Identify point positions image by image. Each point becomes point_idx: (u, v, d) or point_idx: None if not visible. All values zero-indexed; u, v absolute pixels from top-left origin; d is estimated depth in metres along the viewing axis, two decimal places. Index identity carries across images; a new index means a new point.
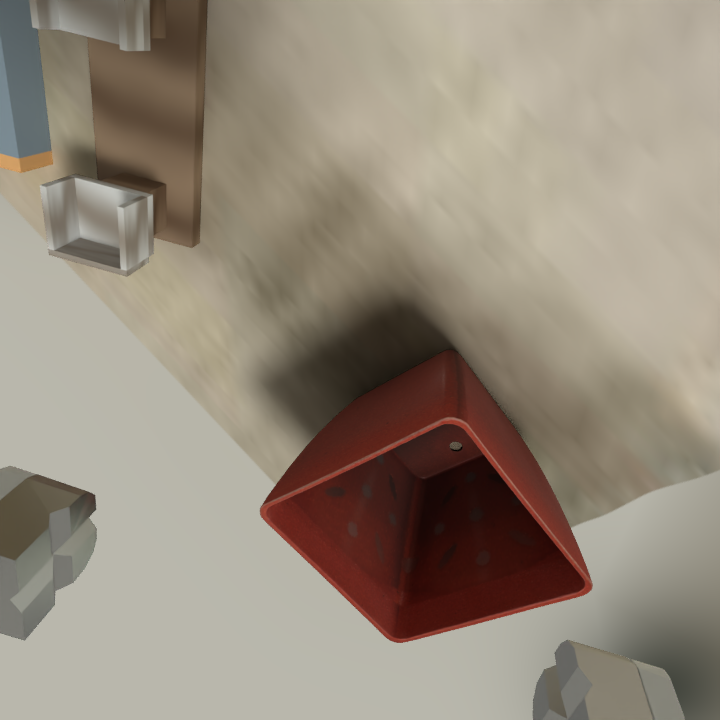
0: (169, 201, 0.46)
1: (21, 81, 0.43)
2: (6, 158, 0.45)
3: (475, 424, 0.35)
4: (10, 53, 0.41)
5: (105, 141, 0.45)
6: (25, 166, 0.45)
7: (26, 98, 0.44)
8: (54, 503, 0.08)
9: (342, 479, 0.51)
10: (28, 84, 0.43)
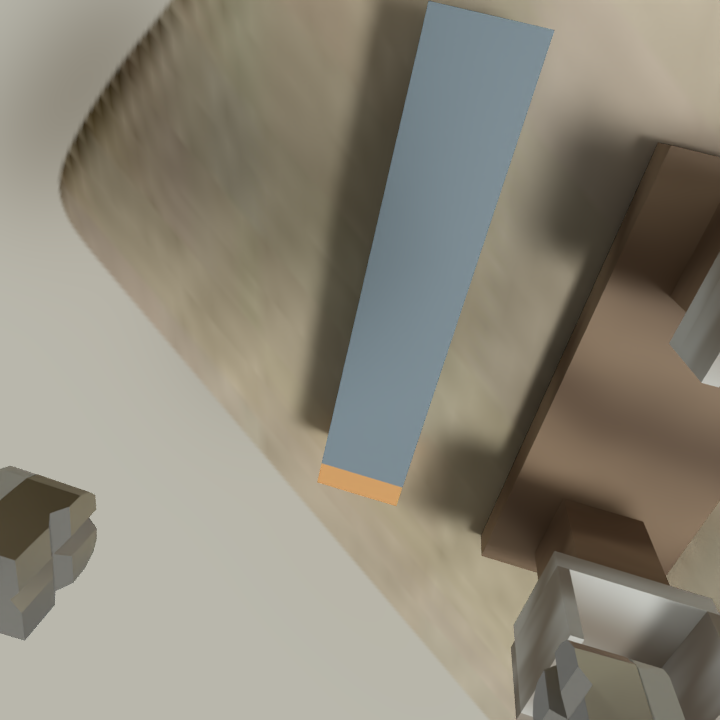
0: None
1: None
2: (377, 484, 0.25)
3: None
4: None
5: (550, 454, 0.25)
6: None
7: None
8: (54, 503, 0.08)
9: None
10: None
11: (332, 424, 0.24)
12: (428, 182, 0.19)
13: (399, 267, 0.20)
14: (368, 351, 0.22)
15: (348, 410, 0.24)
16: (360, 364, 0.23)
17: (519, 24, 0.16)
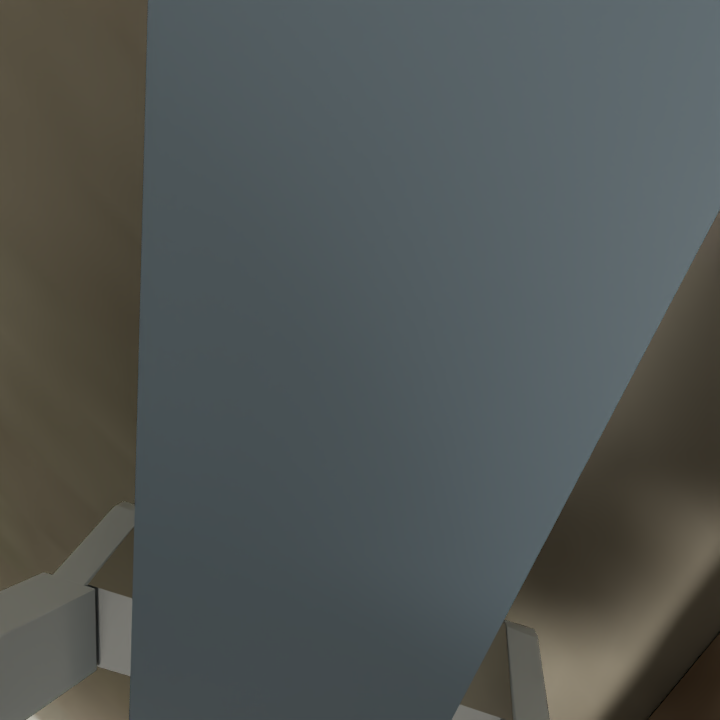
0: None
1: None
2: None
3: None
4: None
5: None
6: None
7: None
8: None
9: None
10: None
11: None
12: (290, 418, 0.05)
13: (226, 638, 0.06)
14: None
15: None
16: None
17: None
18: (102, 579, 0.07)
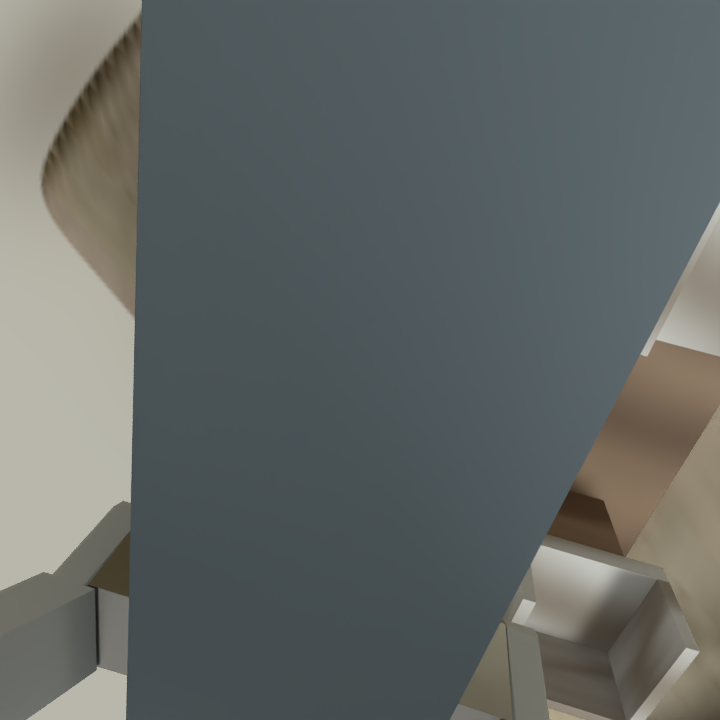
0: None
1: None
2: None
3: None
4: None
5: None
6: None
7: None
8: None
9: None
10: None
11: None
12: (284, 424, 0.05)
13: (222, 642, 0.06)
14: None
15: None
16: None
17: None
18: (102, 579, 0.07)
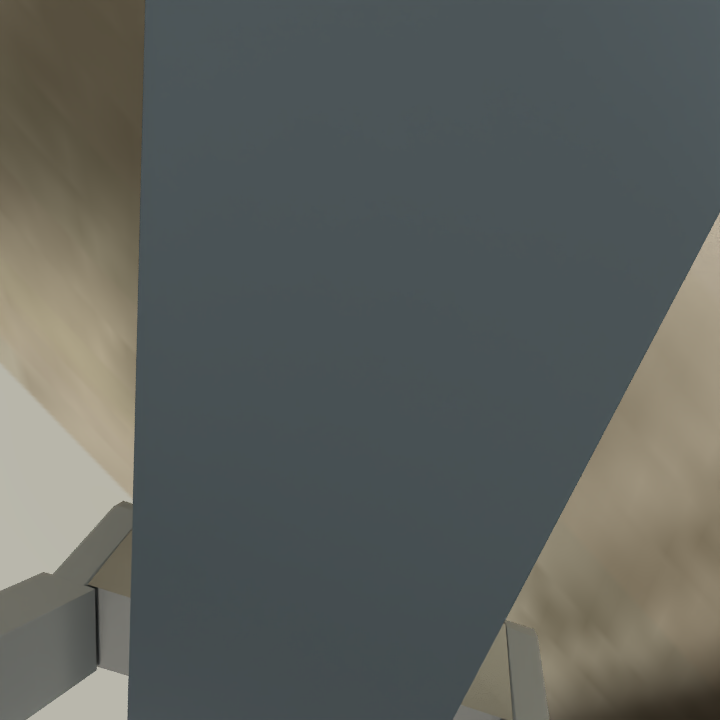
0: None
1: None
2: None
3: None
4: None
5: None
6: None
7: None
8: None
9: None
10: None
11: None
12: (287, 428, 0.05)
13: (224, 645, 0.06)
14: None
15: None
16: None
17: None
18: (102, 579, 0.07)
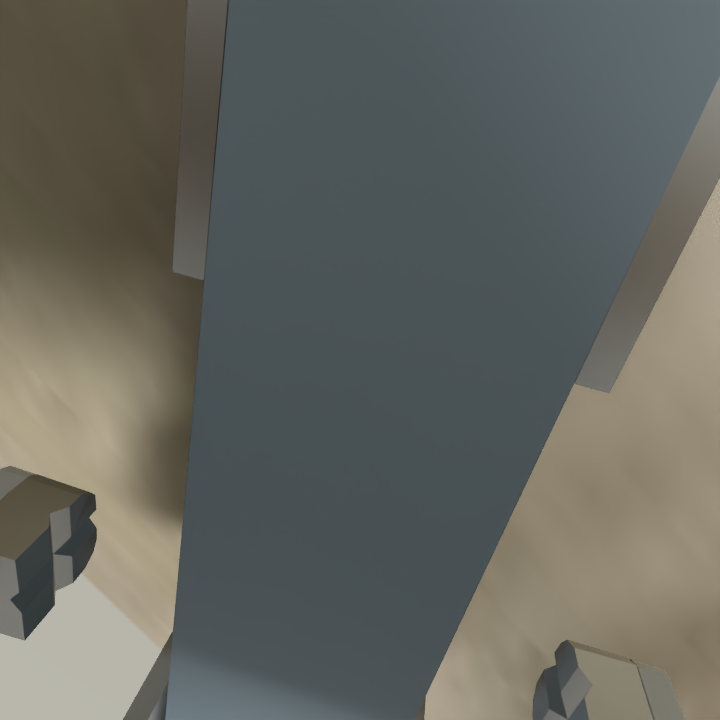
0: None
1: None
2: None
3: None
4: None
5: None
6: None
7: None
8: (54, 503, 0.08)
9: None
10: None
11: None
12: (324, 369, 0.06)
13: (262, 567, 0.07)
14: (213, 713, 0.09)
15: None
16: None
17: None
18: None
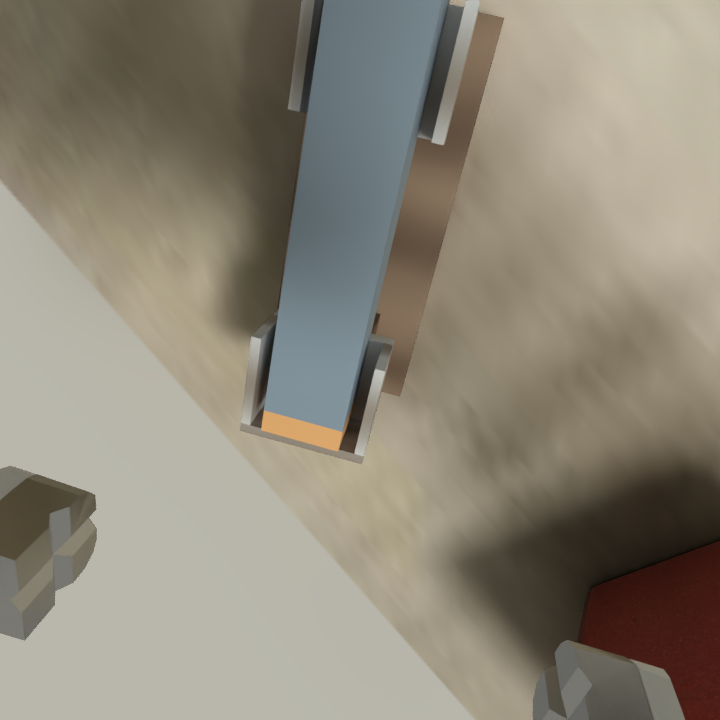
0: None
1: (372, 312, 0.24)
2: (318, 429, 0.26)
3: None
4: (379, 274, 0.23)
5: None
6: (342, 438, 0.26)
7: (367, 335, 0.25)
8: (54, 503, 0.08)
9: None
10: (373, 312, 0.25)
11: (271, 369, 0.25)
12: (345, 119, 0.20)
13: (323, 205, 0.21)
14: (300, 292, 0.23)
15: (286, 354, 0.24)
16: (294, 306, 0.23)
17: None
18: None
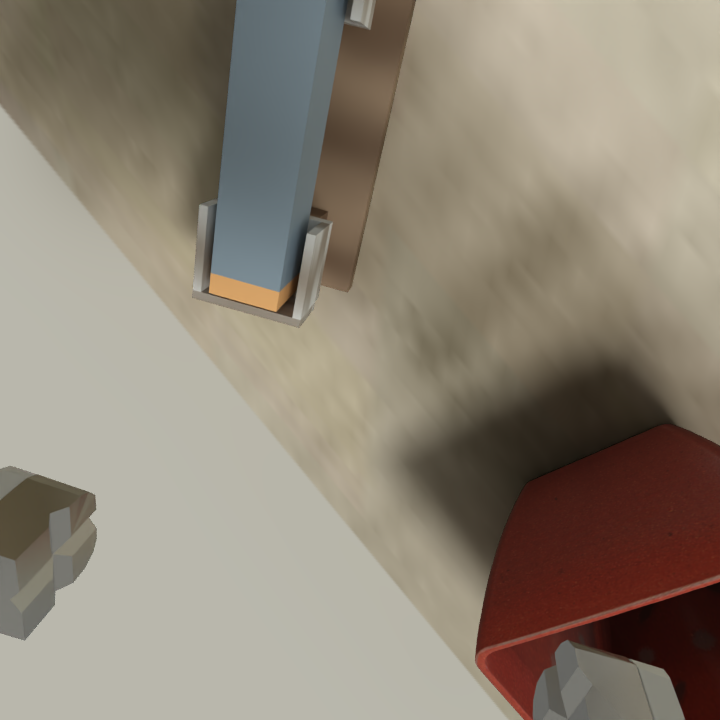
0: None
1: (304, 180, 0.28)
2: (258, 290, 0.29)
3: None
4: (307, 141, 0.26)
5: None
6: (280, 301, 0.30)
7: (302, 205, 0.28)
8: (54, 503, 0.08)
9: None
10: (307, 184, 0.28)
11: (216, 232, 0.28)
12: None
13: (255, 72, 0.24)
14: (238, 156, 0.26)
15: (228, 216, 0.28)
16: (233, 170, 0.27)
17: None
18: None
